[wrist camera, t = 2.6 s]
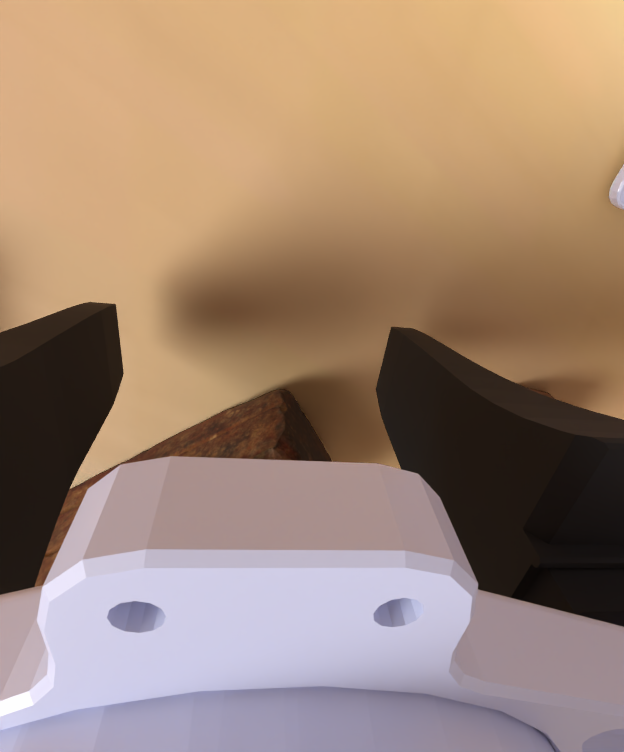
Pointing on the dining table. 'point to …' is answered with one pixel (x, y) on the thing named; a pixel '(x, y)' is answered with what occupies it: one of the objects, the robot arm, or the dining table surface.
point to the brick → (217, 449)
